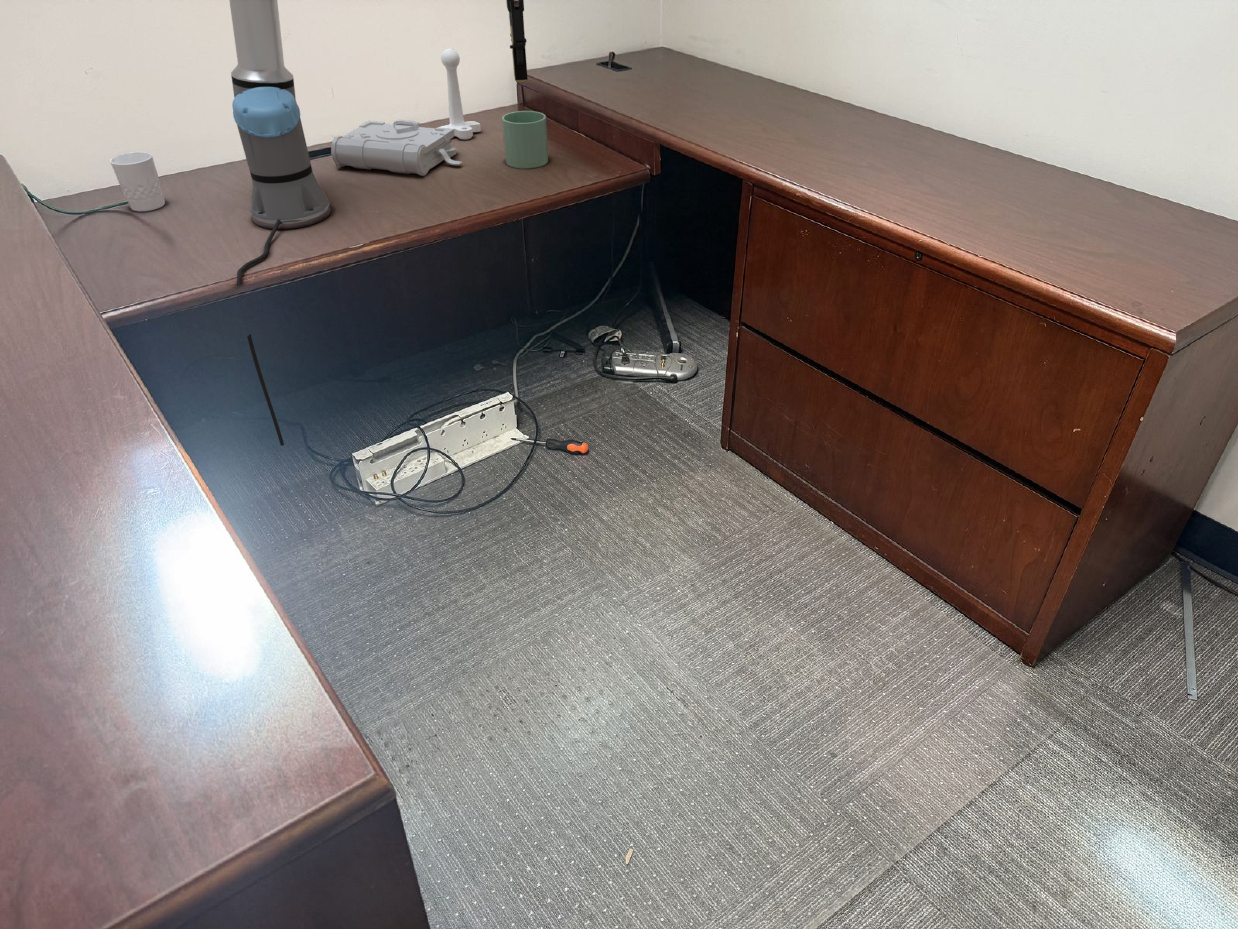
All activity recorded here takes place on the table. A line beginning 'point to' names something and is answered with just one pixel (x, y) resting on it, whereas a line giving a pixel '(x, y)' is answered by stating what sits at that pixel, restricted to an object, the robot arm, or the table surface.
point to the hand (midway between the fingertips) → (520, 77)
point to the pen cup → (525, 139)
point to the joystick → (456, 98)
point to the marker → (512, 44)
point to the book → (394, 147)
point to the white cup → (138, 180)
